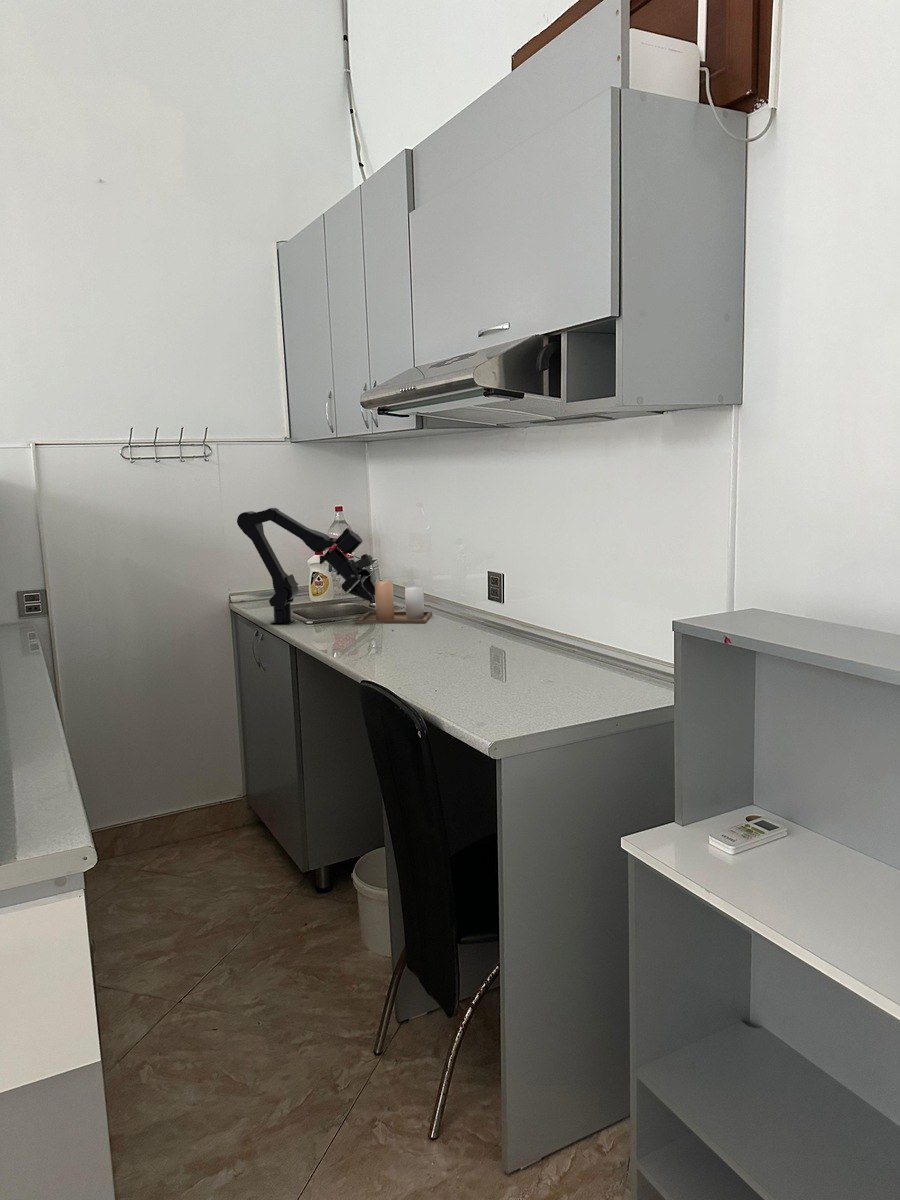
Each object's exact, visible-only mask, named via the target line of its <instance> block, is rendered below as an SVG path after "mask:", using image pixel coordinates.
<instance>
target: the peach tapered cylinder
mask: <svg viewBox="0 0 900 1200" xmlns="http://www.w3.org/2000/svg"><path fill="white" fill-rule="evenodd" d="M374 585H375V595H374V601H375V603H374V604H375V612H376V620H394V612H395V603H394V602H395V600H394V598H395V596H394V594H395V593H394V581H393V580H379V581H374Z"/></svg>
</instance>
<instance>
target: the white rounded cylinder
mask: <svg viewBox="0 0 900 1200" xmlns="http://www.w3.org/2000/svg"><path fill="white" fill-rule="evenodd" d="M404 589H405V590H404V594H405V597H404V598H405V612H406V618H408V619H420V618H424V612H425V606H424V605H425V604H424V602H425V601H424V600H425V599H424V596H425V595H424V587H423V586H421V585H420V586H419V585H412V586H405V587H404Z"/></svg>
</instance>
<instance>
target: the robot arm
mask: <svg viewBox="0 0 900 1200" xmlns="http://www.w3.org/2000/svg"><path fill="white" fill-rule="evenodd" d="M269 521H271V522H273V523H274V524H276V525H277V526H279V527H281V528H282V529H284V530H286V531H288V532H289V533H290V534H292V535H294V536H295V537H297V538H299V539H300V540H302V542H303V543H304V544H305V546H307V547H308V548H309V549H310V550H311V551H312V552H313V553H316V554H320V553H323V552H325V553H324V554H321V555H319V564H320V565H323V564H325V563H328V565H330V566H331V568H332V569H334V571H335V572H336V573H335V574H336V576H340V577H341V578H342V579H343V580H344V582H343V583H342V584H341V590H343V591H344V593H348V594H350V595H353V596H355V597H358V598H362V599H363V600H366V601H369V602H371V601H372V602H373V600H374V598H373V597H372V595H373V596H375V583H374V582H373V571H372V570H371V569H370V568H369V567H370V566H372V565H374V561H373V559H374V558H373V557H372V556H371V555H369V554H367V553H365V554H362V555H361V556H360V559H358V560H356V561H355V560H354V559H349V557H347V554H349V555H351V554H353V553H354V552H355V551H356V550H357V549H358V547H359V546H360V545H362V543H363V542H364V541H363V539H362V538H361V537H360V535H359V534H358V533H356V532H355V531H353V530H351V529H350V527H349V528H348V527H346V528H345V529H344V530H343V531H342V532H341V534H340V535H339V536H338V537H337V538H336V537H330V536H329V535H328V534H326V533H323V532H322V531H319V530H315V529H312V528H308V527H307V526H305V525H304V524H302V523H301V522H299V521H297V520H296V519H294V518H293V517H291V516H289V515H288V514H286V513H284V512H282V511H281V510H279V508H276V507H269V508H267V509H264V510H261V511H253V510H252V511H251V510H250V511H249V510H248V511H243V512H241V513H240V514H239V515H238V516H237V519H236V523H237V526H238V527H239V529H240V530H241V531H242V533H243V535H245V536H246V537H247V538H249V539H250V540H251V542H252V545H254V547H255V549H256V551H257V552H258V554H259V557H260V558H261V561H262V563H263V564H264V566H265V569H267V571H268V574H269V575H270V577H271V581H272V582H271V583H272V588H273V591H274V594H273V595H272V596H271V598H270V599H269V600H268V602H269V605H270V606H271V607H272V609H273V621H271V622H270V624H271V623H284V624H283V625H290V624H292V623H293V622H295V621H296V619H295V618H292V607H291V605H292V603H293V601H294V599H295V598H296V597H297V595H298V593H299V587H298V586H299V583H298V582H297V581H296V579H295V576H294V574H289V575H288V573H287V572H286V571H284V569H283V567H282V564H281V563H280V561H279V559H278V557H277V555H276V553H275V552H274V550H273V548H272V546H271V544H270V542H269V541H268V539H267V537H266V535H265V531H264V524H263V523H266V522H269ZM333 547H334V548H333ZM330 548H332V549H330ZM291 622H292V623H291ZM289 623H290V624H289Z"/></svg>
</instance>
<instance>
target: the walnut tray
mask: <svg viewBox="0 0 900 1200" xmlns="http://www.w3.org/2000/svg"><path fill="white" fill-rule="evenodd" d="M432 616H433V611H424V618H420V619H408V618H406V611H394V620H376V611H367V612H366V613H364V614H363V615H362V616H360V617H359V618H357V620H356V623H357V624H359V625H360V624H362V625H363V624H366V625H367V624H373V625H374V624H382V625H383V624H387V625H388V624H391V625H392V624H397V625H399V624H401V625H402V624H403V625H405V624H407V625H408V624H411V625H413V624H415V625H423V624H426V623H427V622H428V620H430V618H431V617H432Z"/></svg>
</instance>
